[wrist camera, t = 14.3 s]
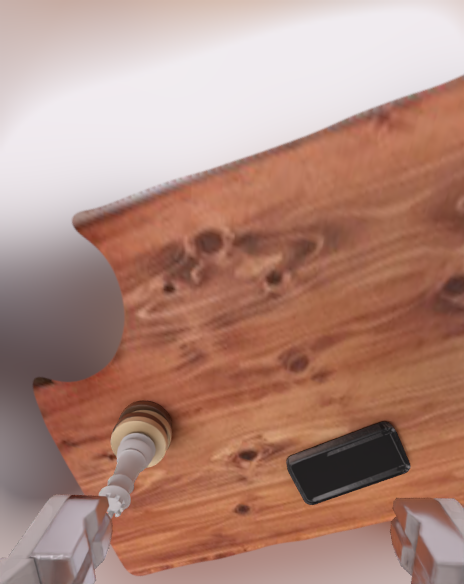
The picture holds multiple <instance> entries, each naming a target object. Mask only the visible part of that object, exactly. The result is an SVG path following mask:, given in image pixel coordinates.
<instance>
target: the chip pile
mask: <svg viewBox="0 0 464 584" xmlns="http://www.w3.org/2000/svg"><path fill="white" fill-rule="evenodd" d="M132 433H143V434H145V435H147V436H149V437H150V439H151V440H152V441H153V443H154V446H155V449H156V450H155V455H154V457H153V458H152V461H151V462H150V464H149V465H148V466H147V468H148V467H151V466H154V465H156V464H157V463H158V462H160V461H161V460H162V458H163V457H164V455H165V453H166V450H167V449H168V447H169V445H170V442H171V439H172V431H171V419H170V417H169V415H168V413H167V412H166V411H165V410H164V409H163V408H162V407H161V406H159V405H158V404H156V403H153V402H149V401H138V402H135V403H132V404H130V405H129V406H128V407H126V408H125V410H124V411H123V413H122V414H121V416H120V418H119V421H118V422H117V424H116V426H115V427H114V429H113V432H112V436H111V448H112V450H113V452H114V454H115V456H116V457H117V450H118V447H119V446H120V442H121V441H122V439H123V438H124V437H125V436H127V435H129V434H132Z"/></svg>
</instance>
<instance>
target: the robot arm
mask: <svg viewBox="0 0 464 584" xmlns="http://www.w3.org/2000/svg"><path fill="white" fill-rule="evenodd" d="M108 508H109V502H108V497H106V496H86V495H54V496H52V497H51V498H50V499H49V500H48V501H47V502H46V504H45V505H44V507H43V508H42V509H41V511H40V512H39V514H38V515H37V516H36V518H35V519H34V521H33V522H32V524H31V525H30V527H29V528H28V529H27V531H26V532H25V534H24V535H23V536H22V538H21V539H20V541H19V542H18V543H17V545H16V546H15V548H14V549H13V550H12V552H11V553H10V555H9V556H8V558H1V559H0V584H94V583H95V581H96V577H95V568H97V567H98V566H99V564H100V563H102V562H103V560H104V559H105V556H106V554H107V551H108V549H109V546H110V541H111V537H112V526H113V525H112V518H111V517H110V516H109V515H108V514H107V513H106V512H107V510H108ZM393 510H394V512H395V514H396V517H395V518H394V519H393V520H392V521H391V529H390V533H391V539H392V544H393V547H394V550H395V553H396V556H397V558H398V560H399V563H400V565H401V566H402V567H403V568H404V569H405V570H406V571H407V572H408V573H409V574H410V575H411V576H412V581H411V584H464V508H463V507H462V506H461V504H460V503H459V502H458V501H456V500H455V499H454V498H434V499H433V498H396V499H395V500H394V503H393Z"/></svg>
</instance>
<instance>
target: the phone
mask: <svg viewBox="0 0 464 584" xmlns="http://www.w3.org/2000/svg"><path fill="white" fill-rule="evenodd" d="M286 463H287V469H288V472H289V474H290V476H291V477H292V479H293V481H294V483H295V485H296V487H297V489H298V491H299V492H300V494H301V496H302V498H303V500H304V501H305V503H307V504H309V505H314V504H318V503H320V502H323V501H326V500H329V499H332V498H335V497H338V496H341V495H344V494H347V493H349V492H352V491H355V490H358V489H361V488H364V487H367V486H370V485H373V484H376V483H378V482H381V481H384V480H387V479H390V478H393V477H396V476H399V475H402V474H404V473H406V472H408V471H409V469H410V463H409V460H408V458H407V456H406V453H405V451H404V448H403V446H402V444H401V441H400V439H399V437H398V434H397V432H396V430H395V429H394V428H393V426H392V425H391V424H390V423H389V422H380V423H377V424H375V425H372V426H369V427H367V428H364V429H361V430H359V431H356V432H353V433H351V434H348V435H345V436H343V437H340V438H337V439H335V440H332V441H329V442H327V443H324V444H321V445H319V446H316V447H313V448H311V449H308V450H305V451H303V452H300V453H297V454H295V455H292V456H290V457H289V458H288V459H287V462H286Z"/></svg>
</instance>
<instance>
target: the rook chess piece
mask: <svg viewBox="0 0 464 584" xmlns="http://www.w3.org/2000/svg"><path fill="white" fill-rule="evenodd" d="M155 450H156V449H155V446H154V443H153V441H152V440H151V439H150V437H149V436H147V435H145V434H143V433H132V434H129V435H127V436H125V437H124V438H123V439H122V441H121V442H120V446H119V447H118V450H117V466H116V469H115V472H114V474H113V476H112V477H110V479H109V480H108V486H106V487H104V488H103V489H102V490H101V491H100V492H99V496H106V497H108V502H109V508H108V510H107V512H109V513H108V515H109V516H110V517H111V518H112V516H113V514H114V513H116V514H115V516H116V517H118V516H120V515H121V512H123V510H124V509H126V508H127V507H128V506H129V505H130V501H131V498H130V495H129V494H130V493H131V492H132V491H133V489H134V482H135V480H136V478H137V476H138V475H139V473H140V472H141V471H143V470H144V469H145V468H147V466H148V465H149V464H150V462H151V461H152V458H153V457H154V455H155Z"/></svg>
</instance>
